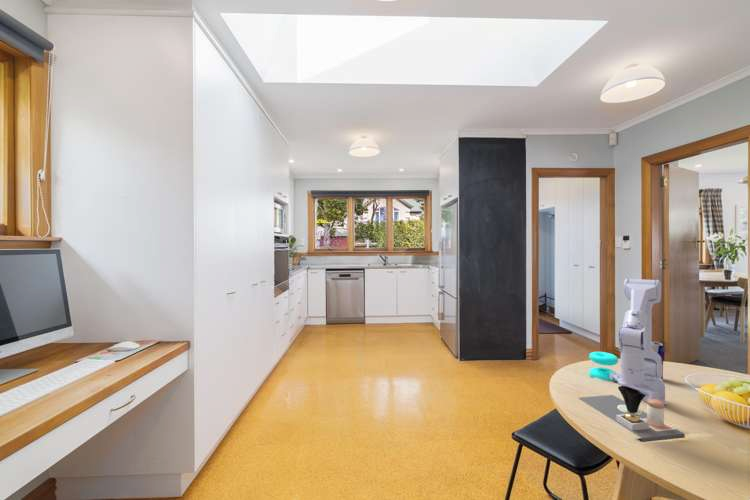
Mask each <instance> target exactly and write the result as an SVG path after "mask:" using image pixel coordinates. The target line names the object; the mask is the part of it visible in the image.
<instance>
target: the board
mask: <svg viewBox="0 0 750 500" xmlns="http://www.w3.org/2000/svg"><path fill="white" fill-rule="evenodd" d="M578 399H579V400H580V401H581V402H583V403H585V404H586V405H588V406H590V407H592V408H593V409H594V410H596V411H598V413H601V414H602V415H604V416H605V417H607V418H609V419H611V420H612V421H613V422H615V423H616V424H618V425H621V427H623V428H624V429H627V430H628V431H629V432H631V433H633V434H635V435H636V436H637V440H638V441H639V442H641V443H644V442H645V443H646V442H656V441H665V440H674V439H675V440H677V439H685V438H686V437H685V436H686V435H685V432H682V431H681V430H679V429H677V428H675V427H673V426H671V425H669V424H667V423H666V422H664V427H663V428H658V427H654V426H651V425H649V423H648V422H647V412H645V411H643V410H641V409H640V408H638V411H637V413H635V414H638V415H639V416H640V423H631V422H629V421H628V420H626V419H625V412H628V411H627V407H626V404H625V401H624V399H623V400H622V399H621V398H619V397H617V396H616V395H614V394H610V395H609V394H608V395H598V396H585V397H584V396H583V397H578ZM638 437H640V438H638Z"/></svg>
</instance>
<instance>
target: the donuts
mask: <svg viewBox="0 0 750 500" xmlns="http://www.w3.org/2000/svg"><path fill="white" fill-rule="evenodd" d="M588 357H589V360H591V361H592V363H595V364H597V365H601V366H614V365H617V364H618V363H619V358H618V357H617V356H616V355H615V354H613V353H609V352H605V351H593V352H590V353H589V355H588ZM601 366H600V367H599V366H597V367H591V368H590V369H589V371H588V374H589V375H590V377H592V378H593V379H600V380H604V381H605V380H606V381H611V382H613V383H614V382H616V381H615V380H611V379H610V373H616V371H614V370H612V369H610V368H607V367H601Z"/></svg>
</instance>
